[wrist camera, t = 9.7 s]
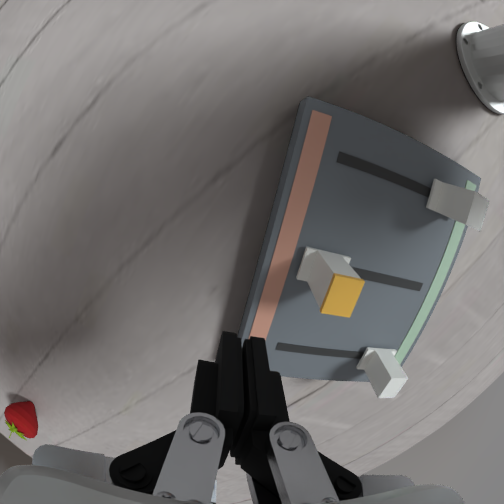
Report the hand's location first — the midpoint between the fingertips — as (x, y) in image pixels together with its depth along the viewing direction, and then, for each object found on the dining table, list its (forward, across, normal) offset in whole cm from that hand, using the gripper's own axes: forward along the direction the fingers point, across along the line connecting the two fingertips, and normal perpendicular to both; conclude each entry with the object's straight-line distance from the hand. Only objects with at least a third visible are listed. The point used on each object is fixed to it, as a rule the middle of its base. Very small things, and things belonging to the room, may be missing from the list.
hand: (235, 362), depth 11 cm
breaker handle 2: (+12, -17, -10) cm, 23 cm away
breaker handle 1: (+13, -17, +8) cm, 23 cm away
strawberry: (+17, +32, +39) cm, 53 cm away
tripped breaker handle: (+13, -7, -1) cm, 15 cm away
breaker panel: (+16, -12, -1) cm, 20 cm away
